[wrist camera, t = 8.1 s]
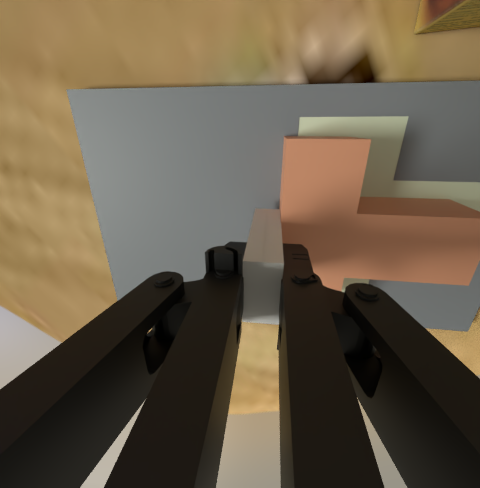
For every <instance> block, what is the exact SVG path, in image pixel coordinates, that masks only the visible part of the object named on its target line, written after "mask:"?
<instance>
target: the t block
mask: <svg viewBox="0 0 480 488" xmlns="http://www.w3.org/2000/svg"><path fill="white" fill-rule="evenodd" d="M370 144H371V139H365V138H357V137H341V136H284V145H283V160H282V175H281V190H280V205H279V209H280V220H281V229H282V243H285V244H302V245H303V246H304V247H305V248H307V250H308V253H309V257H310V261H311V264H312V268H313V272H314V273H315V274H316V275H318V276H319V277H320V279H321V281H322V284H323V286H326V287H328V288H331V289H334V290H338V291H342V286H343V281H344V278H357V279H372V280H388V281H403V282H419V283H434V284H450V285H465V286H469V284H470V282H471V279H472V277H473V275H474V272H475V270H476V268H477V266H478V263H479V261H480V212H479V211H477V210H474V209H472V208H469V207H467V206H465V205H462V204H460V203H457V202H455V201H453V200H450V199H425V198H392V197H360V195H361V189H362V184H363V179H364V174H365V169H366V164H367V159H368V154H369V149H370Z"/></svg>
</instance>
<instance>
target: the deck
mask: <svg viewBox="0 0 480 488" xmlns="http://www.w3.org/2000/svg"><path fill="white" fill-rule="evenodd" d="M67 94H68V98H69V102H70V106H71V110H72V115H73V119H74V123H75V127H76V131H77V135H78V139H79V143H80V147H81V152H82V156H83V160H84V164H85V168H86V172H87V176H88V180H89V184H90V189H91V193H92V197H93V201H94V205H95V209H96V213H97V217H98V221H99V226H100V230H101V234H102V238H103V242H104V246H105V250H106V254H107V258H108V263H109V267H110V271H111V275H112V279H113V283H114V287H115V291H116V295H117V300H120V299H121V298H122V297H123V296H125V295H126V294H127V293H129V292H130V291H131V290H133V289H134V288H135V287H137V286H138V285H139V284H141V283H142V282H143V281H145V280H146V279H147V278H149V277H150V276H152V275H154V274H157V273H160V272H164V271H165V272H166V271H170V272H177V273H179V274H181V275H182V276H183V280H184V282H189V281H196V280H200V279H203V278H204V276H205V274H206V264H205V252H206V251H207V250H208V249H210V248H212V247H216V246H224V245H226V244H227V243H229V242H230V241H231V242H247V241H248V237H249V233H250V229H251V224H252V220H253V216H254V212H255V208H258V209H279V205H280V190H281V175H282V160H283V145H284V136H341V137H357V138H365V139H371V144H370V149H369V154H368V159H367V164H366V169H365V174H364V179H363V184H362V189H361V195H360V197H392V198H425V199H450V200H453V201H455V202H457V203H460V204H462V205H465V206H467V207H469V208H472V209H474V210H477V211H479V212H480V81H441V82H395V83H348V84H301V85H255V86H208V87H161V88H115V89H68V90H67ZM353 283H367V284H371V285H373V286H375V287H378V288H380V289H382V290H383V291H384V292H386V293H387V294H388V295H389V296H390V297H391V298H392V299H394V300H395V301H396V302H397V303H398V304H399V305H400V306H401V307H402V308H403V309H404V310H406V311H407V312H408V313H409V314H410V315H411V316H412V317H413V318H414V319H415V320H416V321H417V322H419V323H420V324H421V325H422V326H423V327H424V328H430V329H443V330H455V331H467V332H468V330H469V328H470V326H471V324H472V322H473V319H474V317H475V315H476V313H477V311H478V309H479V307H480V261H479V263H478V266H477V268H476V270H475V272H474V275H473V277H472V279H471V282H470V284H469V286H465V285H450V284H434V283H419V282H403V281H388V280H372V279H357V278H344V281H343V286H342V292H345V288H346V286H348V285H349V284H353Z"/></svg>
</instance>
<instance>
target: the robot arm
mask: <svg viewBox="0 0 480 488" xmlns="http://www.w3.org/2000/svg"><path fill="white" fill-rule="evenodd" d="M205 264H206V274H205V276H204V278H203V279H200V280H196V281H189V282H184V280H183V276H182V275H181V274H179V273H177V272H170V271H166V272H165V271H164V272H160V273H157V274H154V275H152V276H150V277H149V278H147V279H146V280H145V281H143V282H142V283H141V284H139V285H138V286H137V287H135V288H134V289H133V290H131V291H130V292H129V293H127V294H126V295H125V296H123V297H122V298H121V299H120V300H118V301H117V302H116V303H114V304H113V305H112V306H110V307H109V308H108V309H106V310H105V311H104V312H102V313H101V314H100V315H98V316H97V317H96V318H94V319H93V320H92V321H90V322H89V323H88V324H86V325H85V326H84V327H82V328H81V329H80V330H78V331H77V332H76V333H74V334H73V335H72V336H71V337H69V338H68V339H67V340H65V341H64V342H63V343H61V344H60V345H59V346H57V347H56V348H55V349H53V350H52V351H51V352H49V353H48V354H47V355H45V356H44V357H43V358H41V359H40V360H39V361H37V362H36V363H35V364H33V365H32V366H31V367H29V368H28V369H27V370H25V371H24V372H23V373H22V374H20V375H19V376H18V377H16V378H15V379H14V380H12V381H11V382H10V383H8V384H7V385H6V386H4V387H3V388H2V389H0V488H80V487H81V485H82V484H83V483H84V481H85V480H86V479H87V477H88V476H89V474H90V473H91V472H92V470H93V469H94V468H95V466H96V465H97V464H98V462H99V461H100V460H101V458H102V457H103V456H104V454H105V453H106V452H107V450H108V449H109V448H110V446H111V445H112V444H113V442H114V441H115V439H116V438H117V437H118V435H119V434H120V433H121V431H122V430H123V429H124V427H125V426H126V425H127V423H128V422H129V421H130V419H131V418H132V417H133V415H134V414H135V412H136V411H137V410H138V409H139V407H140V406H141V405H142V403H143V402H144V400H145V399H146V400H145V402H144V405H143V406H142V408H141V411H140V413H139V415H138V417H137V419H136V421H135V423H134V425H133V427H132V430H131V432H130V434H129V436H128V438H127V440H126V442H125V444H124V447H123V448H122V451H121V453H120V455H119V457H118V459H117V462H116V463H115V465H114V467H113V470H112V472H111V474H110V476H109V478H108V480H107V482H106V484H105V487H104V488H216V483H217V477H218V471H219V465H220V458H221V452H222V446H223V440H224V434H225V428H226V422H227V416H228V410H229V404H230V397H231V391H232V385H233V379H234V373H235V367H236V361H237V355H238V349H239V343H240V336H241V320H242V322H253V323H264V324H276V325H279V332H278V344H277V350H279V405H280V461H281V462H280V464H281V488H384V485H383V482H382V479H381V475H380V472H379V468H378V465H377V462H376V459H375V456H374V452H373V449H372V445H371V442H370V439H369V436H368V432H367V429H366V426H365V422H364V420H363V416H362V413H361V409H360V406H359V403H358V400H359V401H360V403H361V405H362V407H363V409H364V410H365V412H366V414H367V416H368V417H369V419H370V421H371V423H372V425H373V426H374V428H375V430H376V432H377V434H378V435H379V437H380V439H381V441H382V443H383V444H384V446H385V448H386V450H387V451H388V453H389V455H390V457H391V459H392V461H393V462H394V464H395V466H396V468H397V470H398V471H399V473H400V475H401V477H402V478H403V480H404V482H405V484H406V486H407V487H408V488H480V379H479V378H478V377H477V376H476V375H475V374H474V373H473V372H472V371H471V370H470V369H469V368H467V367H466V366H465V365H464V364H463V363H462V362H461V361H460V360H459V359H458V358H457V357H456V356H454V355H453V354H452V353H451V352H450V351H449V350H448V349H447V348H446V347H445V346H444V345H442V344H441V343H440V342H439V341H438V340H437V339H436V338H435V337H434V336H433V335H432V334H431V333H429V332H428V331H427V330H426V329H425V328H424V327H423V326H422V325H421V324H420V323H419V322H417V321H416V320H415V319H414V318H413V317H412V316H411V315H410V314H409V313H408V312H407V311H406V310H404V309H403V308H402V307H401V306H400V305H399V304H398V303H397V302H396V301H395V300H394V299H392V298H391V297H390V296H389V295H388V294H387V293H386V292H384V291H383V290H382V289H380V288H378V287H375V286H373V285H371V284H367V283H353V284H349V285H348V286H346V288H345V292H342V291H338V290H334V289H331V288H328V287H326V286H323V284H322V281H321V279H320V277H319V276H318V275H316V274H315V273H314V272H313V268H312V264H311V261H310V257H309V253H308V250H307V248H305V247H304V246H303V245H302V244H285V243H282V229H281V220H280V209H258V208H255V212H254V216H253V220H252V224H251V229H250V233H249V237H248V241H247V242H231V241H230V242H229V243H227V244H226V245H224V246H216V247H212V248H210V249H208V250H207V251H206V252H205ZM151 328H152V330H151V331H150V332H149V333H148V331H149V330H150V329H151ZM147 333H148V334H147ZM357 398H358V399H357Z"/></svg>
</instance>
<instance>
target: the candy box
mask: <svg viewBox="0 0 480 488" xmlns="http://www.w3.org/2000/svg"><path fill="white" fill-rule="evenodd" d="M477 26H480V0H421V2H420V7H419V12H418V17H417V22H416V26H415V30H414V34H419V33H426V32H435V31H444V30H452V29H461V28H469V27H477Z"/></svg>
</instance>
